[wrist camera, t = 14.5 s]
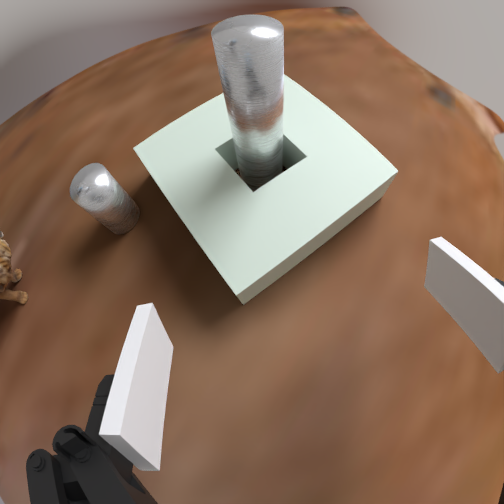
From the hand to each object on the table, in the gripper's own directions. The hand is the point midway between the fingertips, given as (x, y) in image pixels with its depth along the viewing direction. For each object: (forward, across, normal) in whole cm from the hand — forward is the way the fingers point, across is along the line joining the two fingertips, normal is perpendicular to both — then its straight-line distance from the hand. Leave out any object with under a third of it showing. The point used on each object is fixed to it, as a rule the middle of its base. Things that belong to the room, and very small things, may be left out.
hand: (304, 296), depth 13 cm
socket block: (+13, 0, +2) cm, 13 cm away
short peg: (+13, -12, +2) cm, 18 cm away
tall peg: (+13, 0, +2) cm, 13 cm away
